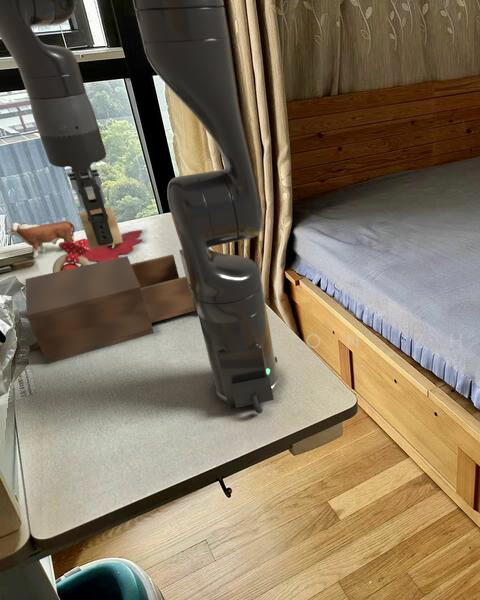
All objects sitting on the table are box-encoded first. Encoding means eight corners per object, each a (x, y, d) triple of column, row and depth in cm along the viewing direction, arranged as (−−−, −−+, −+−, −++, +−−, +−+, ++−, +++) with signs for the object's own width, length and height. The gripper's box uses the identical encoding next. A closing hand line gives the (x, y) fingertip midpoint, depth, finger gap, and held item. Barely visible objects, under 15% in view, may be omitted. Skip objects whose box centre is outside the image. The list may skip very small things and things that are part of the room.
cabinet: (140, 298, 108) (127, 255, 103) (154, 332, 97) (140, 286, 92) (43, 323, 101) (25, 278, 96) (47, 363, 90) (26, 315, 85)
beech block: (90, 249, 83) (81, 221, 81) (87, 239, 87) (78, 212, 84) (123, 242, 85) (114, 215, 83) (118, 233, 89) (110, 206, 87)
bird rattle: (75, 306, 110) (114, 281, 111) (32, 265, 104) (74, 239, 105) (77, 292, 115) (115, 269, 116) (36, 253, 109) (76, 228, 110)
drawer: (223, 273, 115) (217, 241, 111) (243, 300, 105) (237, 265, 101) (110, 303, 105) (99, 268, 101) (120, 335, 95) (108, 298, 91)
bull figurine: (20, 253, 128) (7, 221, 124) (82, 245, 131) (71, 213, 127) (14, 261, 125) (1, 228, 120) (79, 252, 128) (67, 220, 124)
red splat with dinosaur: (146, 268, 127) (143, 251, 124) (76, 277, 121) (70, 259, 119) (142, 231, 140) (138, 215, 137) (78, 238, 134) (73, 221, 131)
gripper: (103, 133, 74) (137, 248, 82) (92, 116, 84) (122, 219, 93) (40, 142, 70) (82, 260, 79) (36, 122, 81) (73, 229, 89)
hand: (104, 237), depth 86 cm, fingers closed on beech block, 4 cm apart
